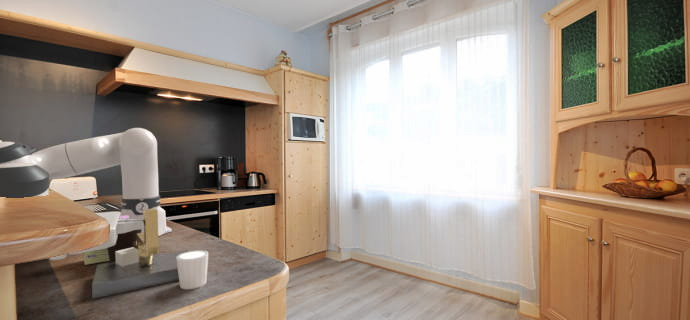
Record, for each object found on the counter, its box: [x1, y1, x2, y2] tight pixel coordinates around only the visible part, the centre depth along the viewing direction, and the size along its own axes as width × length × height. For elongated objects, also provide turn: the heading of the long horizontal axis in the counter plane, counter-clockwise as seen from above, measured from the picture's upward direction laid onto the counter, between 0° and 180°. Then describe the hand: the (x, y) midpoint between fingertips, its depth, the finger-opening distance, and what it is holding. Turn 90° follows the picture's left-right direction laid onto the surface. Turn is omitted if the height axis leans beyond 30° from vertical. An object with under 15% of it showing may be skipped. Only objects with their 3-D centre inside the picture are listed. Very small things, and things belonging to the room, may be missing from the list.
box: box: [83, 215, 129, 266], centre depth 91 cm, size 10×6×12 cm, turn 125°
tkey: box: [137, 208, 160, 266], centre depth 77 cm, size 16×3×15 cm, turn 41°
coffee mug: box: [107, 229, 142, 263], centre depth 89 cm, size 12×9×10 cm
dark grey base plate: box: [91, 249, 189, 300], centre depth 78 cm, size 14×20×3 cm
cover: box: [115, 247, 139, 266], centre depth 80 cm, size 4×4×3 cm
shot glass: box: [176, 249, 209, 290], centre depth 74 cm, size 7×7×7 cm
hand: (143, 223), depth 70 cm, fingers closed
